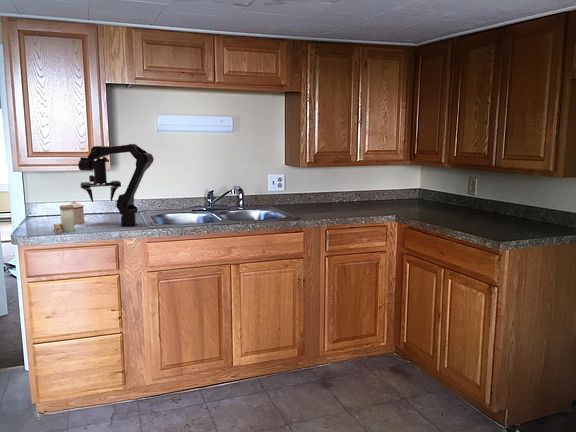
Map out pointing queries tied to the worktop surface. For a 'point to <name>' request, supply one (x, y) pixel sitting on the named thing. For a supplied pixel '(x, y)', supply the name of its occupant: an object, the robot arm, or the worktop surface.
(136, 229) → the worktop surface
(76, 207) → the beige lidded jar
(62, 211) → the tea canister
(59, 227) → the stand
